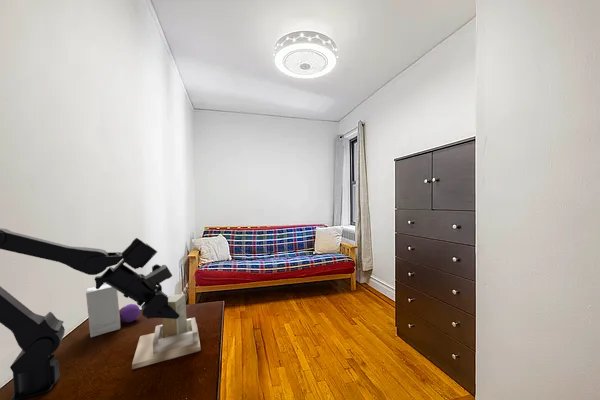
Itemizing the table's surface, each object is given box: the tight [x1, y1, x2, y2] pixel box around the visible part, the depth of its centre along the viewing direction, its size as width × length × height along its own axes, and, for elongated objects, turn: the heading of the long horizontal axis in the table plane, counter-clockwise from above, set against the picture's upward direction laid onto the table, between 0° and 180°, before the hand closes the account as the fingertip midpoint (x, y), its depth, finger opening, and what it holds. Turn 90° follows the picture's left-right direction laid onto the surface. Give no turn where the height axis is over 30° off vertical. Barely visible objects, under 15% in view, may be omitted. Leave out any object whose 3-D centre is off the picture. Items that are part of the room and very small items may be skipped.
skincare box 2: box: [161, 293, 188, 338], centre depth 76 cm, size 6×4×12 cm
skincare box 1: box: [85, 283, 121, 338], centre depth 87 cm, size 8×6×15 cm
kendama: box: [119, 303, 141, 323], centre depth 97 cm, size 6×6×20 cm
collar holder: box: [131, 317, 202, 370], centre depth 76 cm, size 16×16×4 cm
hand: (175, 311), depth 77 cm, fingers open, 9 cm apart
